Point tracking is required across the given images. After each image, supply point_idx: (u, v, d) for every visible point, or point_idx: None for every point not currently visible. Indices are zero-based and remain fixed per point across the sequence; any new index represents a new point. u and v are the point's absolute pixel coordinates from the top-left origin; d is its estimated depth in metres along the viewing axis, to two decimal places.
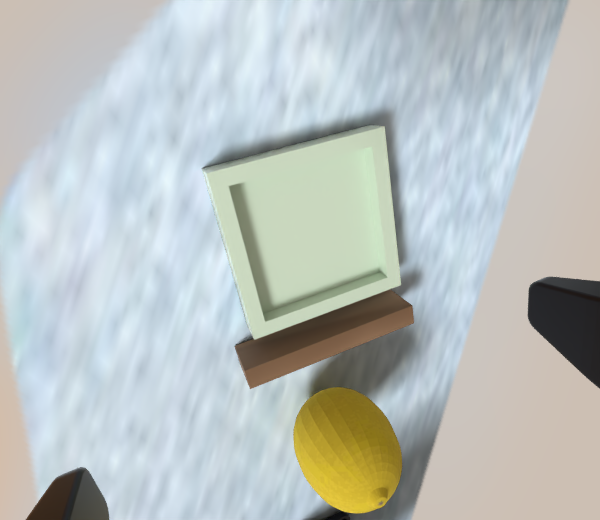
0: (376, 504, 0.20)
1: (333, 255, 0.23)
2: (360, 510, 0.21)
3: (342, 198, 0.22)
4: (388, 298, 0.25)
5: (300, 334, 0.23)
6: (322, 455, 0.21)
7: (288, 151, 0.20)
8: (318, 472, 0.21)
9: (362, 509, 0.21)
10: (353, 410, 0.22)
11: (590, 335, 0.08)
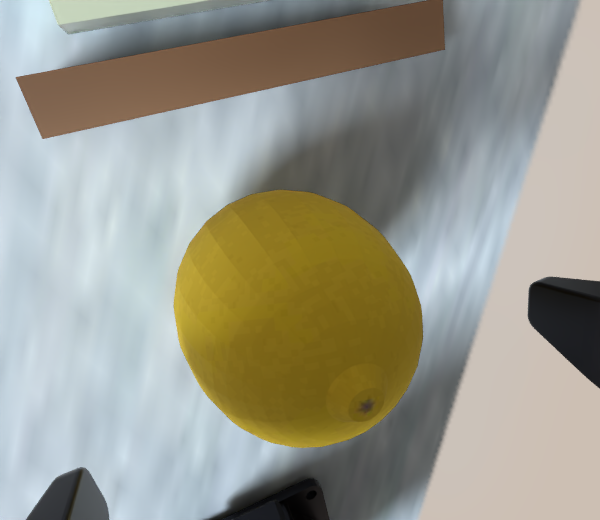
0: (352, 406, 0.07)
1: None
2: (313, 433, 0.08)
3: None
4: None
5: None
6: (212, 289, 0.08)
7: None
8: (202, 333, 0.08)
9: (317, 429, 0.08)
10: (304, 200, 0.09)
11: (590, 335, 0.08)
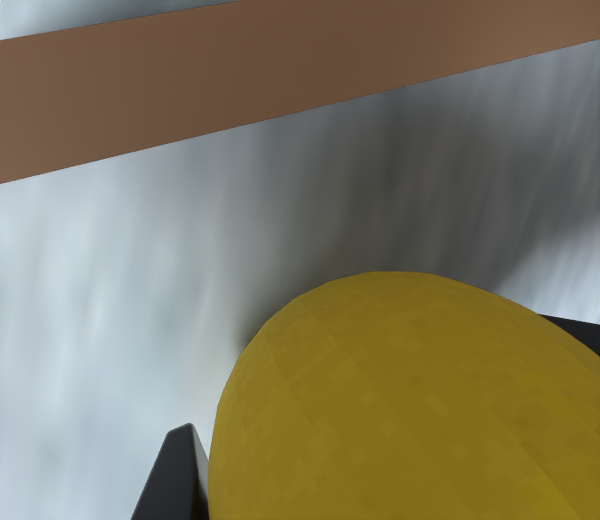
0: None
1: None
2: None
3: None
4: None
5: None
6: None
7: None
8: None
9: None
10: (488, 324, 0.04)
11: None
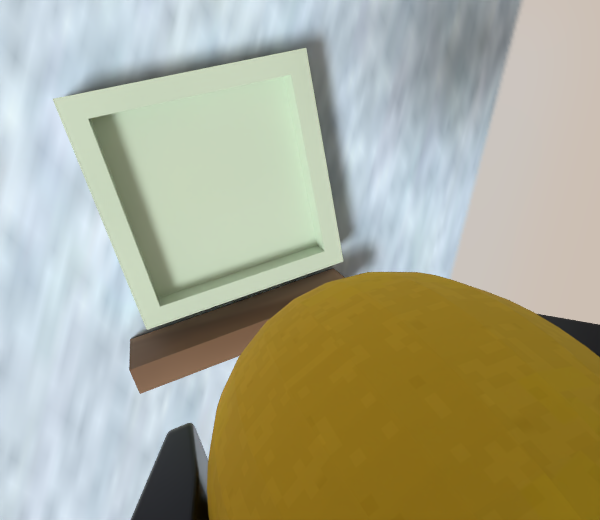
0: None
1: (253, 222, 0.18)
2: None
3: (259, 147, 0.17)
4: (329, 279, 0.20)
5: (213, 323, 0.18)
6: None
7: (172, 75, 0.15)
8: None
9: None
10: (488, 324, 0.04)
11: None
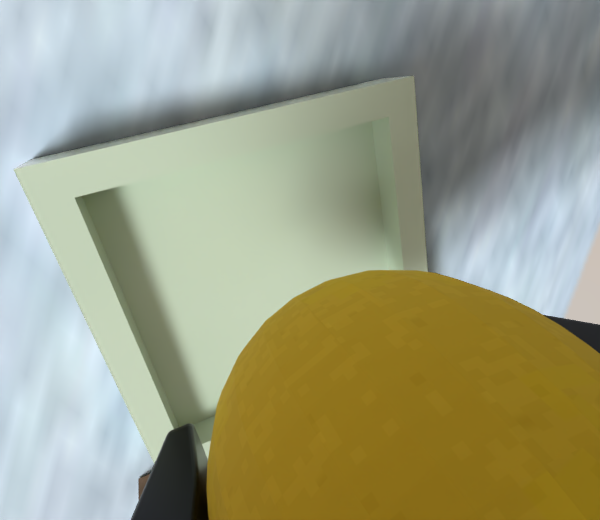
0: None
1: None
2: None
3: (329, 218, 0.12)
4: None
5: None
6: None
7: (212, 122, 0.09)
8: None
9: None
10: (490, 321, 0.04)
11: None
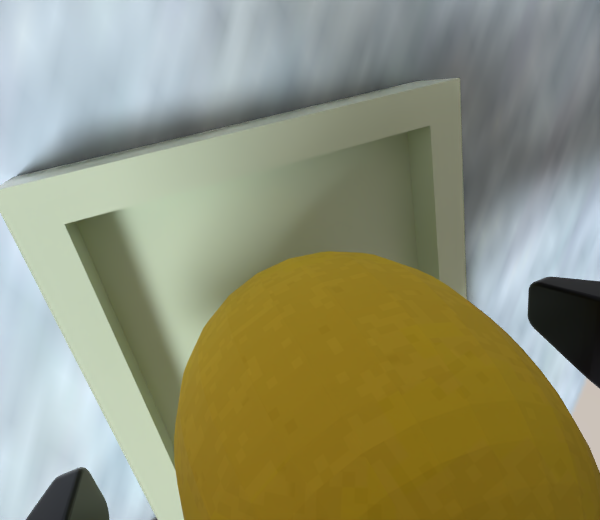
0: None
1: None
2: None
3: (357, 239, 0.10)
4: None
5: None
6: (239, 478, 0.04)
7: (227, 133, 0.08)
8: None
9: None
10: (393, 289, 0.05)
11: (590, 335, 0.08)
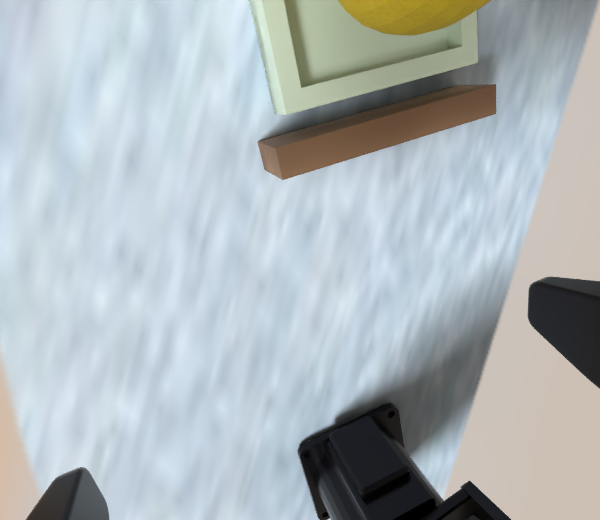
0: None
1: None
2: None
3: None
4: (459, 88, 0.19)
5: (347, 121, 0.17)
6: None
7: None
8: None
9: None
10: None
11: (590, 335, 0.08)
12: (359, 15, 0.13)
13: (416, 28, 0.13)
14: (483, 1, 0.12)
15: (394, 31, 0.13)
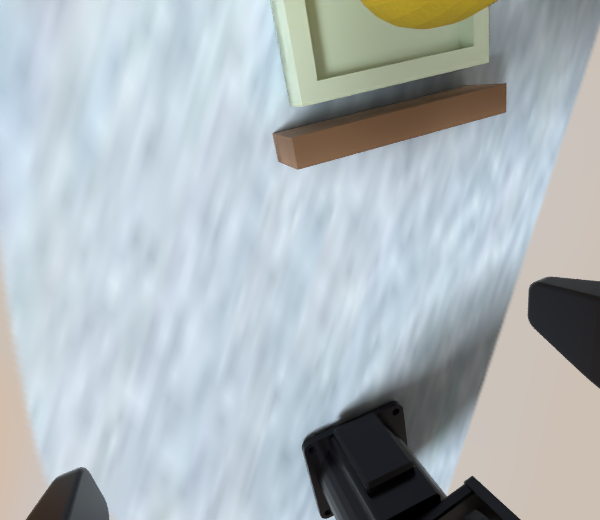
0: None
1: None
2: None
3: None
4: (469, 87, 0.19)
5: (361, 115, 0.18)
6: None
7: None
8: None
9: None
10: None
11: (590, 335, 0.08)
12: (377, 7, 0.14)
13: (433, 20, 0.13)
14: None
15: (411, 23, 0.14)
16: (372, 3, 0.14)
